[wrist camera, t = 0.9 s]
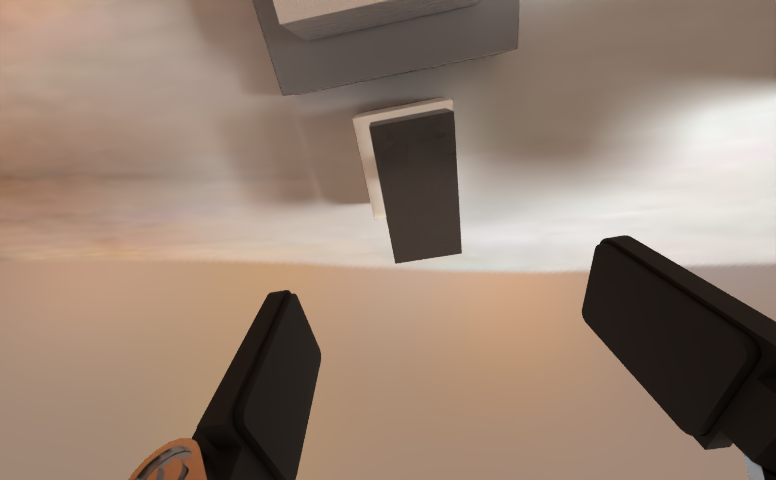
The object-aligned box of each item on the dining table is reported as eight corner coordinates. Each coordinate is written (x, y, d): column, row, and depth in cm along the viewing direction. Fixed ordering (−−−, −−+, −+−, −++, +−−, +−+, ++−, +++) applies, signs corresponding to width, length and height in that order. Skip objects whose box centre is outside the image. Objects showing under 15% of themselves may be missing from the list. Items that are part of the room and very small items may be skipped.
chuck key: (425, 101, 25) (453, 110, 15) (434, 196, 29) (461, 253, 19) (374, 111, 25) (369, 127, 15) (391, 203, 29) (395, 263, 19)
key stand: (442, 97, 26) (453, 99, 22) (448, 190, 30) (458, 205, 26) (356, 113, 26) (352, 118, 22) (375, 202, 30) (374, 220, 26)
